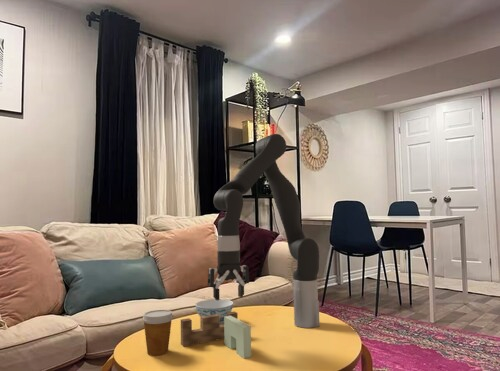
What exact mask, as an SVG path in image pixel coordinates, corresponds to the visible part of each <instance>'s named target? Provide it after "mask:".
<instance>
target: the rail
mask: <svg viewBox="0 0 500 371" xmlns="http://www.w3.org/2000/svg"><path fill="white" fill-rule="evenodd" d="M227 316H233V317H234V318H236V319H238V320H239V318H238V312H236V311H235V310H234V311H231V312H227ZM199 318H200V328H195V329H193V327H192V325H193V324H192V323H193V321H192V319H191V318H189V317H188V318H183V319H180V345H181V346H182V347H189V346H193V345H198V344H199V345H200V344H204V343H209V342H214V341H218V340H219V341H220V340H224V324H221V325H219V315H217V314H214V315H207V316H201V317H200V316H199Z"/></svg>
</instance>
